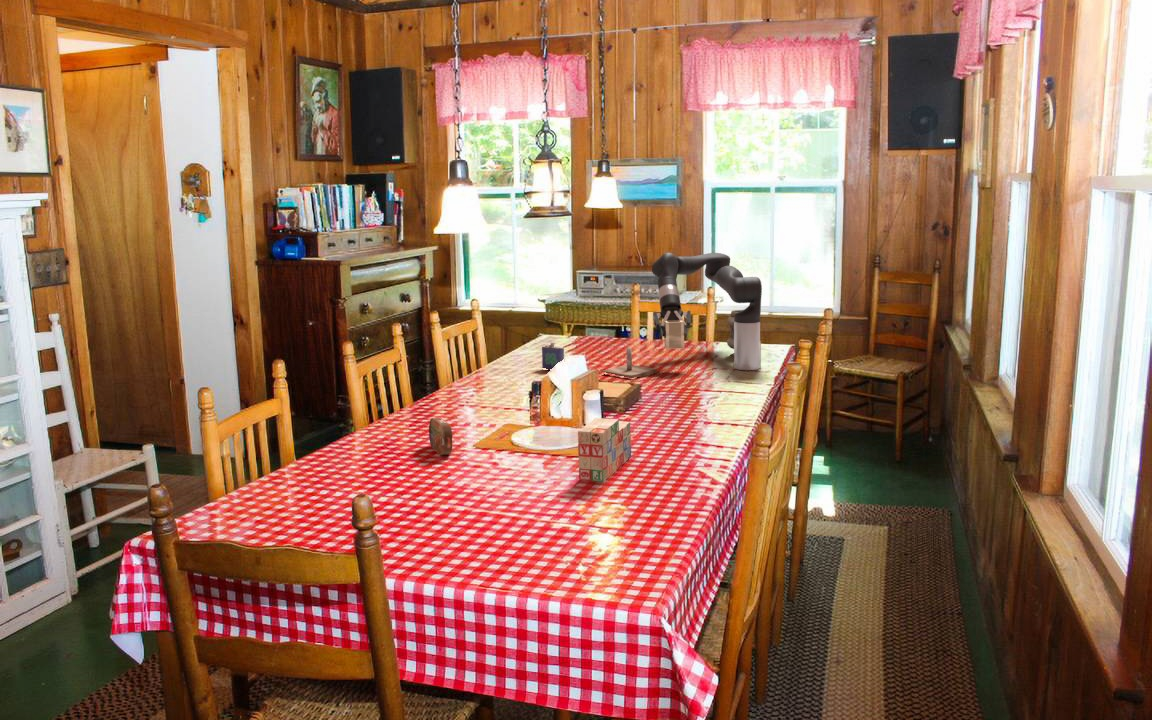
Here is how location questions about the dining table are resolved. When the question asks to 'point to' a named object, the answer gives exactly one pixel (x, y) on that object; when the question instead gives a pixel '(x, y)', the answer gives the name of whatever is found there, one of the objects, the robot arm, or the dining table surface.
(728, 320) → the apothecary jar
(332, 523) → the dining table surface
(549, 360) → the flask
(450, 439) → the tin
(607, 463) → the stack of blocks
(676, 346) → the tan upright block
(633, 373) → the post base
